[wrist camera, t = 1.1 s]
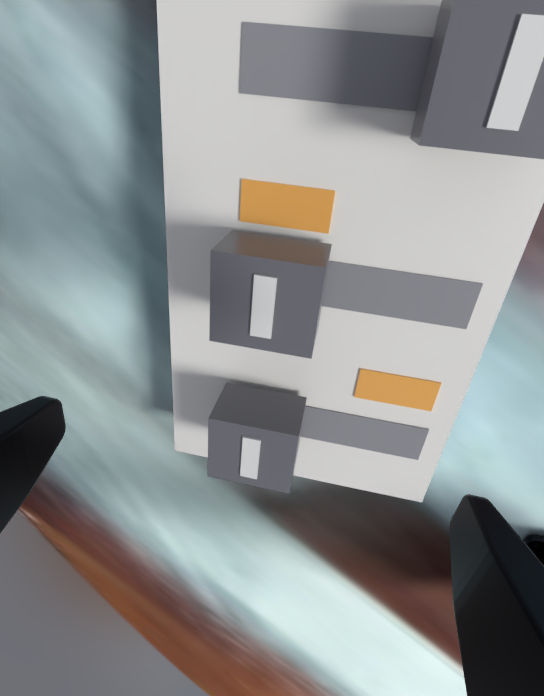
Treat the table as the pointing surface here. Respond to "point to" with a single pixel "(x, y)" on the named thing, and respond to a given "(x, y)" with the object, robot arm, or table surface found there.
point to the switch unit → (334, 224)
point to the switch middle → (267, 292)
